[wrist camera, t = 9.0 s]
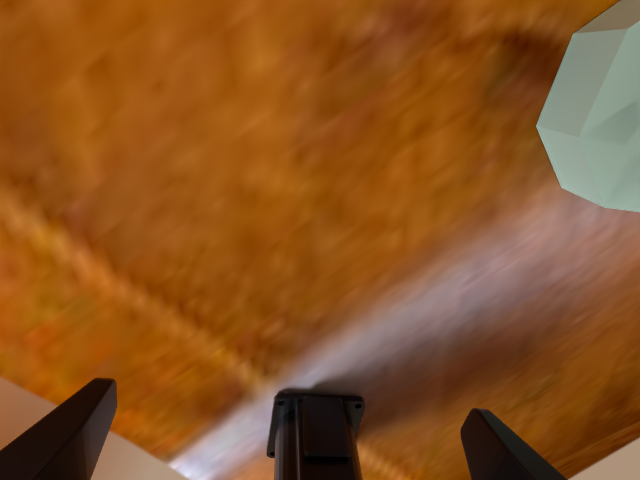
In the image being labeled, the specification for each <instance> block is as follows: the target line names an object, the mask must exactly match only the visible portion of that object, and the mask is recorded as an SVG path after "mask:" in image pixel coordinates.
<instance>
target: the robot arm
mask: <svg viewBox="0 0 640 480" xmlns="http://www.w3.org/2000/svg"><path fill="white" fill-rule="evenodd" d="M116 408H117V389H116V381H115V380H114V379H110V378H95V379H93V380H92V381H90V382H89V383H88V384H87V385H85V386H84V387H83V388H81V389H80V390H79V391H77V392H76V393H75V394H73V395H72V396H71V397H70V398H68V399H67V400H66V401H64V402H63V403H62V404H60V405H59V406H58V407H56V408H55V409H54V410H53V411H51V412H50V413H49V414H47V415H46V416H45V417H43V418H42V419H41V420H40V421H38V422H37V423H36V424H34V425H33V426H32V427H30V428H29V429H28V430H26V431H25V432H24V433H22V434H21V435H20V436H19V437H17V438H16V439H15V440H13V441H12V442H11V443H9V444H8V445H7V446H5V447H4V448H3V449H2V450H0V480H90V479H91V476H92V474H93V471H94V469H95V466H96V463H97V461H98V458H99V455H100V453H101V450H102V447H103V445H104V442H105V439H106V437H107V434H108V431H109V429H110V426H111V423H112V421H113V418H114V415H115V412H116ZM364 408H365V402H364V399H363V398H362V397H354V396H331V395H308V394H284V393H281V394H277V395H276V396H275V397H274V403H273V410H272V417H271V424H270V430H269V437H268V444H267V456H268V457H270V458H275V471H274V480H363V478H362V472H361V467H360V462H359V456H358V451H357V445H356V440H355V438H356V435H357V431H358V428H359V425H360V422H361V418H362V415H363V412H364ZM461 440H462V444H463V448H464V451H465V455H466V459H467V463H468V467H469V471H470V475H471V479H472V480H567V479H566V478H565V477H564V476H563V475H562V474H560V473H559V472H558V471H557V470H556V469H555V468H554V467H553V466H551V465H550V464H549V463H548V462H547V461H546V460H545V459H544V458H542V457H541V456H540V455H539V454H538V453H537V452H536V451H535V450H533V449H532V448H531V447H530V446H529V445H528V444H527V443H526V442H524V441H523V440H522V439H521V438H520V437H519V436H518V435H517V434H515V433H514V432H513V431H512V430H511V429H510V428H509V427H508V426H506V425H505V424H504V423H503V422H502V421H501V420H500V419H499V418H497V417H496V416H495V415H494V414H493V413H492V412H491V411H489V410H487V409H480V408H473V409H472V410H471V411H470V412H469V414H468V416H467V418H466V420H465V422H464V424H463V425H462V427H461Z"/></svg>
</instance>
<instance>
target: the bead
mask: <svg viewBox="0 0 640 480" xmlns="http://www.w3.org/2000/svg"><path fill="white" fill-rule="evenodd" d="M536 127H537V130H538V132H539V135H540V137H541V140H542V142H543V144H544V147H545V149H546V152H547V154H548V156H549V159H550V161H551V164H552V166H553V169H554V171H555V173H556V176H557V178H558V181H559V183H560V186H561V188H563V189H565V190H567V191H569V192H572V193H574V194H576V195H578V196H580V197H582V198H585V199H587V200H589V201H591V202H593V203H595V204H598V205H600V206H602V207H604V208H612V209H619V210H627V211H634V212H640V0H620V1H619V2H617V3H616V4H614V5H613V6H612V7H610V8H609V9H607V10H606V11H605V12H603V13H602V14H600V15H599V16H597V17H596V18H595V19H593V20H592V21H590V22H589V23H588V24H586V25H585V26H583V27H582V28H581V29H579V30H578V31H576V32H575V33H573V35H572V38H571V40H570V43H569V45H568V48H567V50H566V53H565V55H564V58H563V60H562V63H561V65H560V67H559V70H558V72H557V75H556V77H555V80H554V82H553V85H552V87H551V90H550V92H549V95H548V97H547V100H546V102H545V105H544V107H543V110H542V112H541V115H540V117H539V120H538V122H537V125H536Z"/></svg>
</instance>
